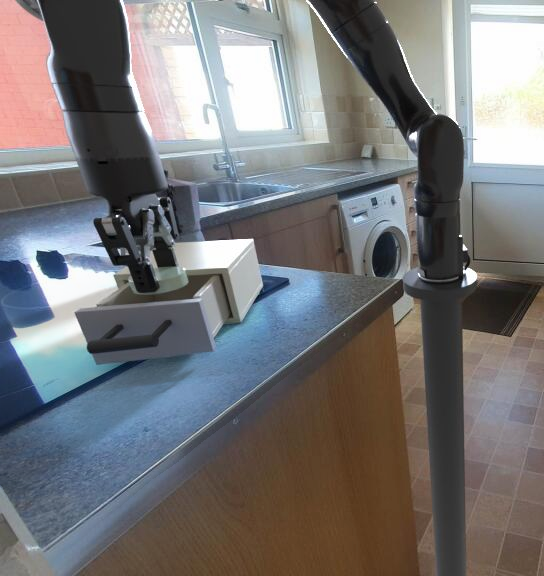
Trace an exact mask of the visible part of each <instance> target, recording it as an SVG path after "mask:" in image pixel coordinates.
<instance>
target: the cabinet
mask: <svg viewBox="0 0 544 576" xmlns="http://www.w3.org/2000/svg"><path fill="white" fill-rule="evenodd" d="M172 248H173V249H174V252H175V255H176V259H177V262H178V265H179V267H182V268H184V269H185V271H186V274H187V276H192V275H206V274H221V273H222V276H223V279H224V283H225V287H226V291H227V295H228V299H229V303H230V307H231V311H232V312H231V314H230V315H229V317H228V318H227V319H226V321H225V322H224V324H223V325H229V324H230V325H232V324H241V323H242V322H243V320H244V319H245V317H246V315H247V314H248V312H249V310H250V309H251V307H252V305H253V304H254V302H255V300H256V298H257V297H258V295H259V294H260V292H261V290H262V289H263V287H264V282H263V279H262V272H261V269H260V265H259V260H258V256H257V250H256V245H255V242H254V239H253V238H248V239H247V238H246V239H229V240H228V239H227V240H207V241H206V240H205V241H203V242H182V243H175V247H172ZM154 249H156V248H152V250H154ZM152 250H150V259H151V262H150V263H152V265H153V268H158V267H157V264H156V261H155V258H154V255H153V252H152ZM112 276H113V278H114V281H115V284H116V286H117V290H118V289H119V288H120V287H122V286H123V285H125V284H126V283H128V282H129V281H128V278H129V277H130V276H131V274H130V271H129V268H128V266H124V267H123V268H122V269H120V270H118V271H117V272H115V273H114V274H113V275H112Z"/></svg>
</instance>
